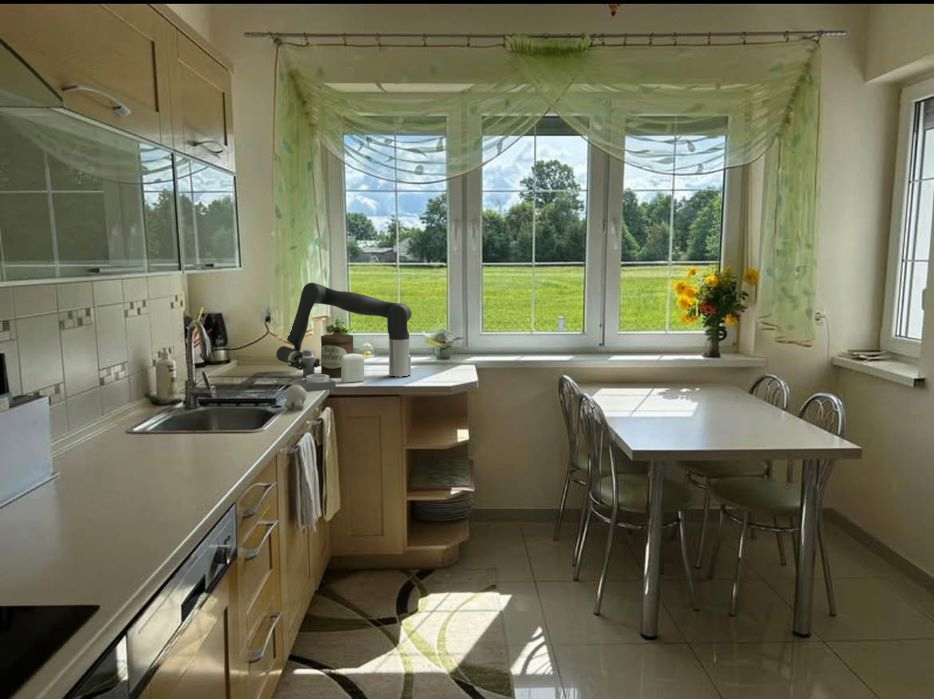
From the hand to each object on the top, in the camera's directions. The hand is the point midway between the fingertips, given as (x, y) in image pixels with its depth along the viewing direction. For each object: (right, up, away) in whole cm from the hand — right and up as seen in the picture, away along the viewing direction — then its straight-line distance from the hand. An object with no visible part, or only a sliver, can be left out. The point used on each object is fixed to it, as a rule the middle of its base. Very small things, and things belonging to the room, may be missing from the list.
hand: (310, 365), depth 271 cm
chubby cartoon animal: (+6, -14, -44) cm, 46 cm away
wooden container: (+7, -5, +24) cm, 26 cm away
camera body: (+5, -9, -7) cm, 12 cm away
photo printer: (+16, -7, +8) cm, 20 cm away
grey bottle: (-2, -8, +3) cm, 8 cm away
